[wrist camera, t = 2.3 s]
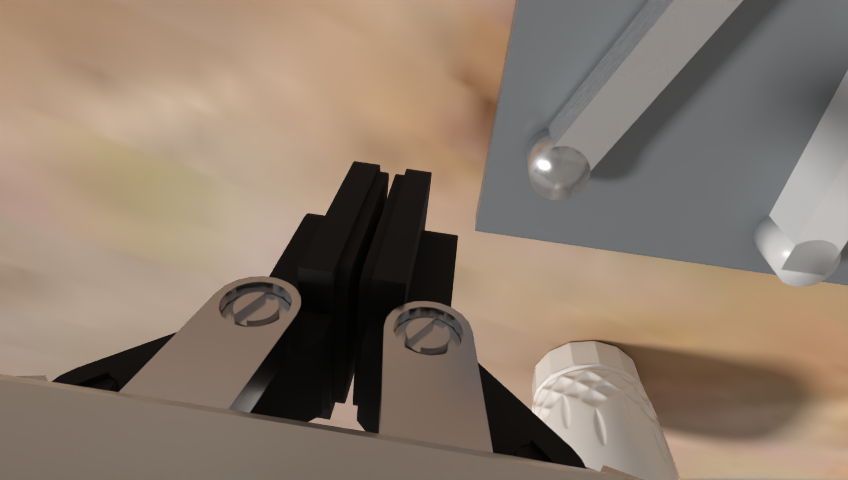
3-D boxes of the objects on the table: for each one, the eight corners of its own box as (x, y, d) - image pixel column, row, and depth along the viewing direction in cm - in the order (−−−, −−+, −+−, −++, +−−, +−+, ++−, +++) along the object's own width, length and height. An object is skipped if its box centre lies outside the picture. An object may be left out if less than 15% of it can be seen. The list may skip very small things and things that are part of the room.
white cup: (560, 429, 39) (579, 576, 30) (500, 362, 36) (503, 505, 27) (666, 390, 36) (720, 544, 27) (611, 313, 33) (652, 459, 24)
